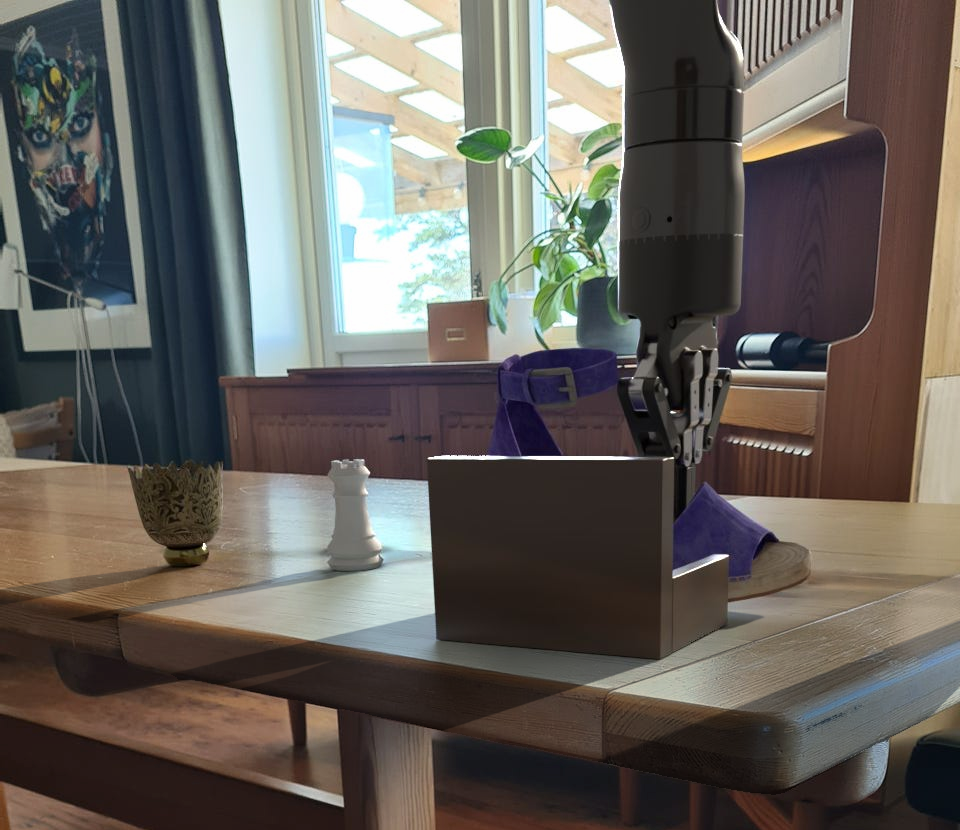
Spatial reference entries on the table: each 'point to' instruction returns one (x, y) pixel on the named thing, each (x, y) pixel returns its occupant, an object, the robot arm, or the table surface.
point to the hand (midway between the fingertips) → (674, 524)
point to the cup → (180, 508)
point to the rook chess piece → (352, 520)
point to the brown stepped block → (566, 556)
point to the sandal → (707, 517)
